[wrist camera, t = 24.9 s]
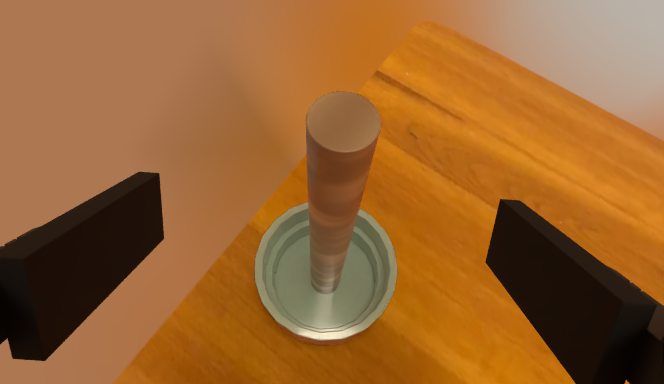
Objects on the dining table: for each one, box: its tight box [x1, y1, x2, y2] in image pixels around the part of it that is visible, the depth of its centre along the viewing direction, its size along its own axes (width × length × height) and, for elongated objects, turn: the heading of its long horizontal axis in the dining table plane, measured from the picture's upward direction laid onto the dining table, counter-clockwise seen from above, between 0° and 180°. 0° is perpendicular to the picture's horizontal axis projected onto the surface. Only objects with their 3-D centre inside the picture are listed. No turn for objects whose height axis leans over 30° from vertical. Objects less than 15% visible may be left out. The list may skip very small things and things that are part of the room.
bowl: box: [255, 202, 397, 346], centre depth 33 cm, size 11×11×6 cm
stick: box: [306, 91, 381, 294], centre depth 24 cm, size 3×3×24 cm
